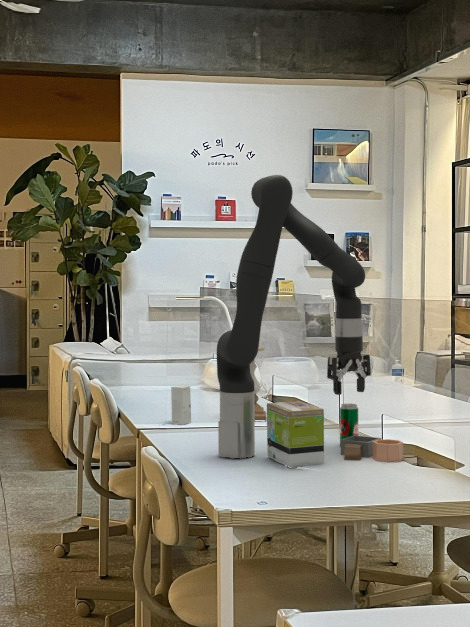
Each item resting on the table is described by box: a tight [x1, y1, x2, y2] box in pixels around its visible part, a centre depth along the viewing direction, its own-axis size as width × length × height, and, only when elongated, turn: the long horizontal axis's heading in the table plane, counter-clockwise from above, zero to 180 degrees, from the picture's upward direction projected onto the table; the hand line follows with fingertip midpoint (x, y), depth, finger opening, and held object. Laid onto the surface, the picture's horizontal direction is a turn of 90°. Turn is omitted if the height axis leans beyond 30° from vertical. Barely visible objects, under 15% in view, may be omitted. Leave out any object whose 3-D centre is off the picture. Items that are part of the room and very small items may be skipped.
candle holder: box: [250, 345, 267, 421], centre depth 317 cm, size 11×11×24 cm
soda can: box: [339, 403, 359, 447], centre depth 265 cm, size 5×5×12 cm
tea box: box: [266, 400, 325, 467], centre depth 246 cm, size 15×10×15 cm, turn 21°
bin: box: [340, 435, 382, 459], centre depth 253 cm, size 8×8×4 cm
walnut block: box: [343, 444, 362, 461], centre depth 247 cm, size 4×4×4 cm
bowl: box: [372, 439, 404, 463], centre depth 246 cm, size 7×7×5 cm
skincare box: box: [170, 384, 192, 426], centre depth 309 cm, size 6×4×12 cm
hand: (349, 393), depth 265 cm, fingers open, 8 cm apart
